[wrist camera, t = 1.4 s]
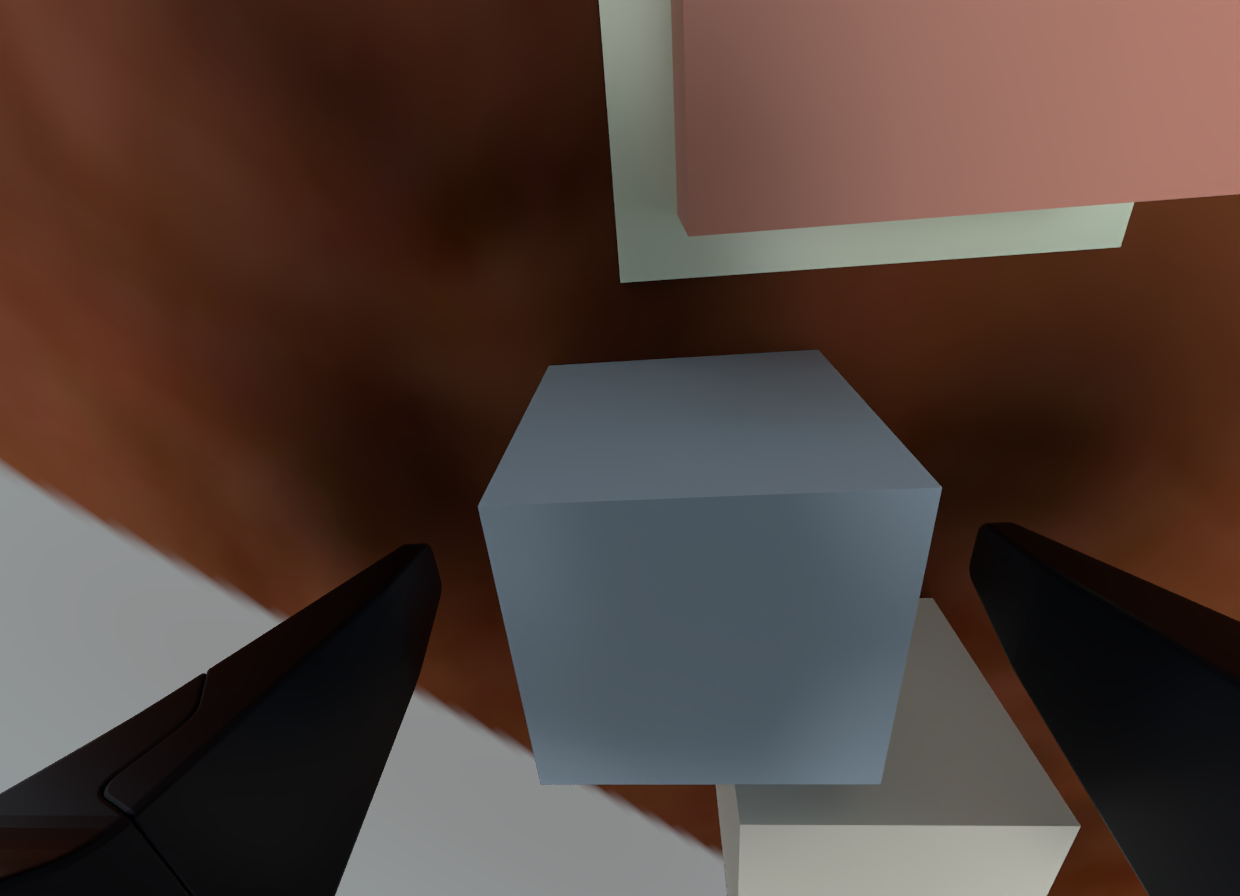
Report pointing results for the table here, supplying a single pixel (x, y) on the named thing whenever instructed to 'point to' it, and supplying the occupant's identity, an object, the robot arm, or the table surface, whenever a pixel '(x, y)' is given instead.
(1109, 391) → the table surface
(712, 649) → the cube blue
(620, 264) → the baseplate
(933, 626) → the cube cream
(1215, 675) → the robot arm
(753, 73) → the brick red base
